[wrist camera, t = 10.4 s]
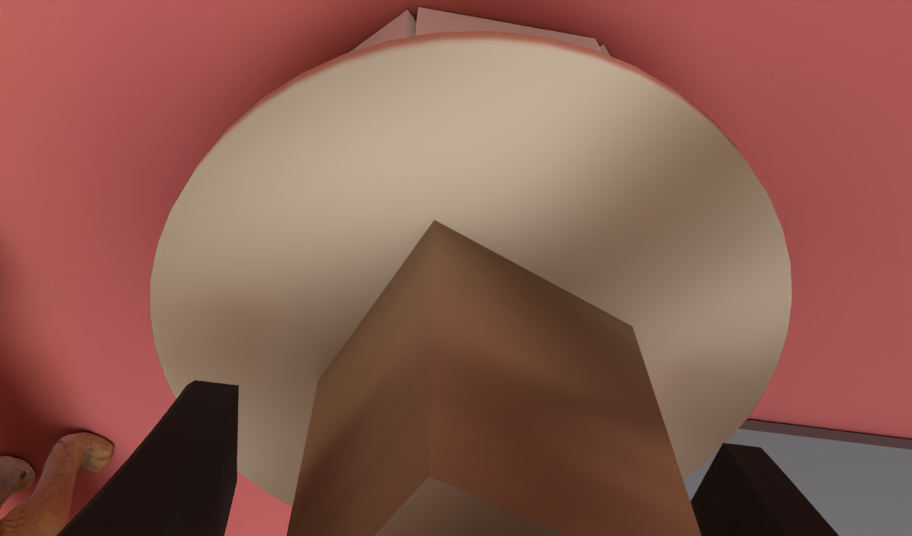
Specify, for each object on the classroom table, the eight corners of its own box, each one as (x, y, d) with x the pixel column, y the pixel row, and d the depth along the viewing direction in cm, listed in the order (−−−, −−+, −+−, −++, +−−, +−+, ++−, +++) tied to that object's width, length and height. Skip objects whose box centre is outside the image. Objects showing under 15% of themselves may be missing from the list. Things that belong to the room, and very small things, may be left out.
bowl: (727, 62, 15) (808, 149, 12) (600, 387, 20) (630, 512, 17) (272, -20, 14) (219, 51, 11) (258, 345, 19) (219, 469, 16)
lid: (915, 253, 13) (1181, 535, 8) (536, 576, 18) (567, 861, 13) (343, -139, 9) (243, -32, 5) (78, 402, 14) (-92, 704, 10)
